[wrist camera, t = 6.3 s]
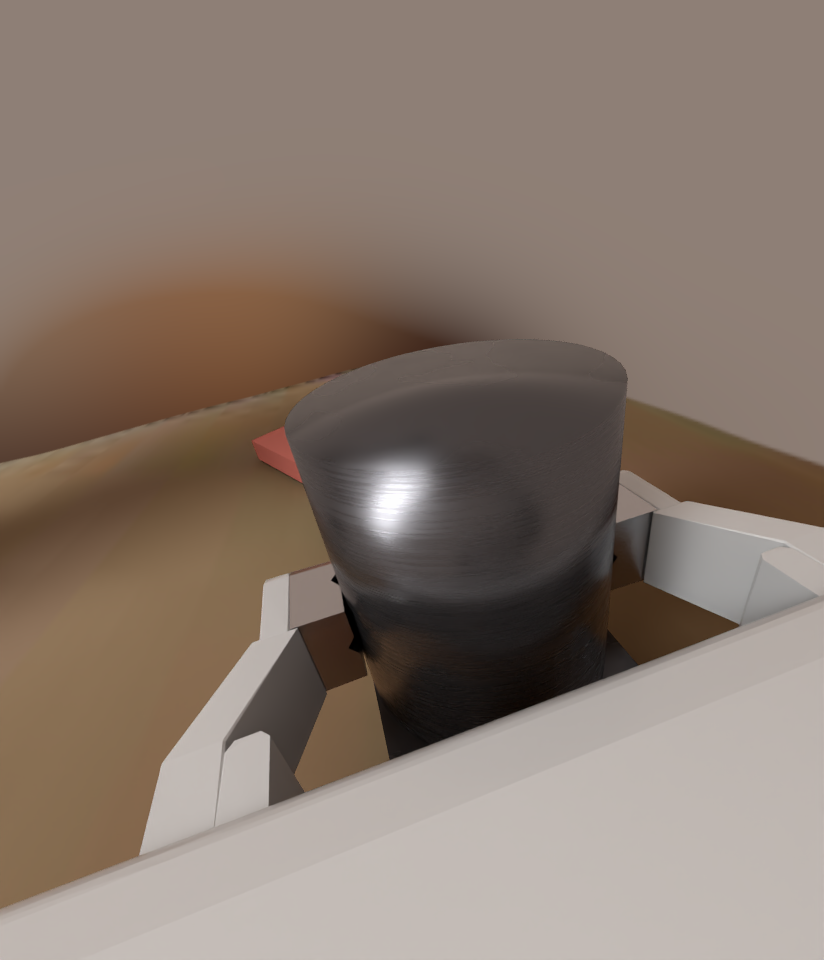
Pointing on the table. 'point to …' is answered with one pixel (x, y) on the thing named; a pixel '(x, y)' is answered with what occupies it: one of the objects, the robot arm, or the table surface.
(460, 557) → the socket
